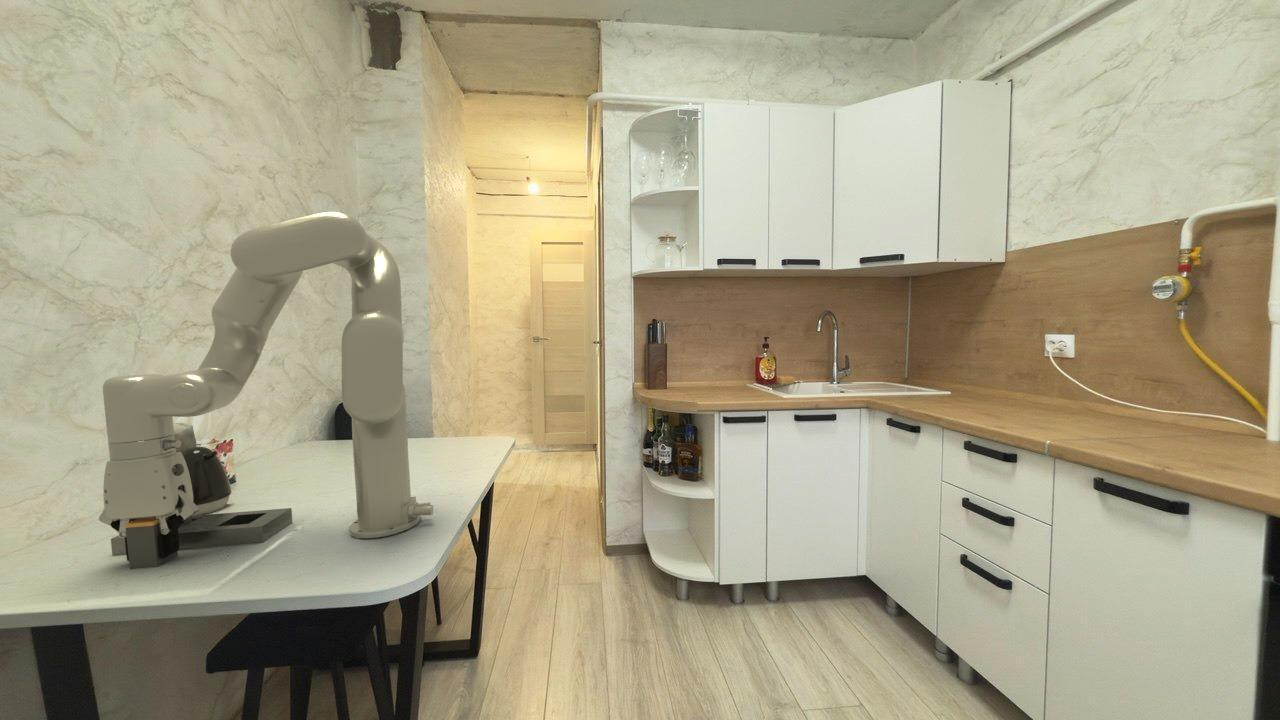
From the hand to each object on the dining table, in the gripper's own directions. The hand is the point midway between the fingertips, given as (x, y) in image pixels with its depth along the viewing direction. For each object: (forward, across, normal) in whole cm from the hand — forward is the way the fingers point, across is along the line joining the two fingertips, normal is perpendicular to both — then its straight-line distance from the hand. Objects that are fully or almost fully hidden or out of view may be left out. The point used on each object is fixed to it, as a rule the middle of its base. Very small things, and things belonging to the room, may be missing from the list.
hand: (153, 554), depth 78 cm
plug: (+2, 0, 0) cm, 2 cm away
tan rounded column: (+2, +20, -31) cm, 37 cm away
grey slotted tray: (+2, -2, -9) cm, 9 cm away
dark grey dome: (+2, +11, -26) cm, 28 cm away
